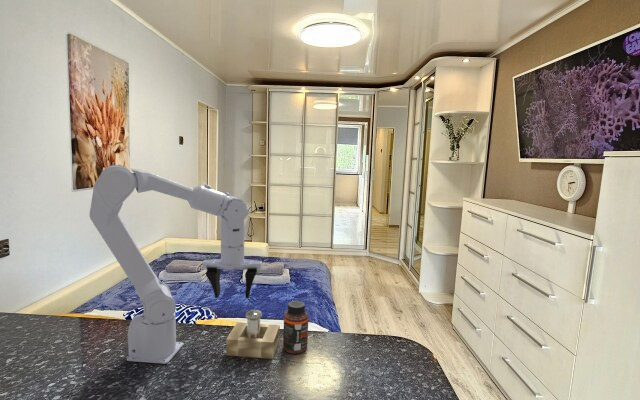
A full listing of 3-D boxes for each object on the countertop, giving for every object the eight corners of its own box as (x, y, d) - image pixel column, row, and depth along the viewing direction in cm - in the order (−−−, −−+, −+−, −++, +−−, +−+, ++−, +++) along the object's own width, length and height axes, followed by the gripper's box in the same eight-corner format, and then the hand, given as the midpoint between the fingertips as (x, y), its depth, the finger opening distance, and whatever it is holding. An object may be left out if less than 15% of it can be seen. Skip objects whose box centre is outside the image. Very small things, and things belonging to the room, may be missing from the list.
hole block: (226, 355, 77) (226, 339, 77) (237, 337, 85) (237, 322, 85) (272, 358, 77) (273, 342, 76) (279, 340, 85) (279, 325, 84)
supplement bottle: (304, 356, 78) (305, 310, 77) (279, 353, 79) (280, 307, 78) (309, 343, 84) (311, 300, 82) (287, 339, 85) (288, 297, 83)
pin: (243, 352, 79) (243, 316, 78) (248, 344, 82) (248, 309, 81) (259, 354, 78) (259, 317, 77) (263, 345, 82) (263, 310, 81)
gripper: (198, 248, 79) (198, 302, 81) (259, 249, 80) (258, 303, 81) (207, 240, 86) (207, 291, 88) (263, 242, 87) (262, 292, 88)
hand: (232, 296), depth 85 cm, fingers open, 7 cm apart
